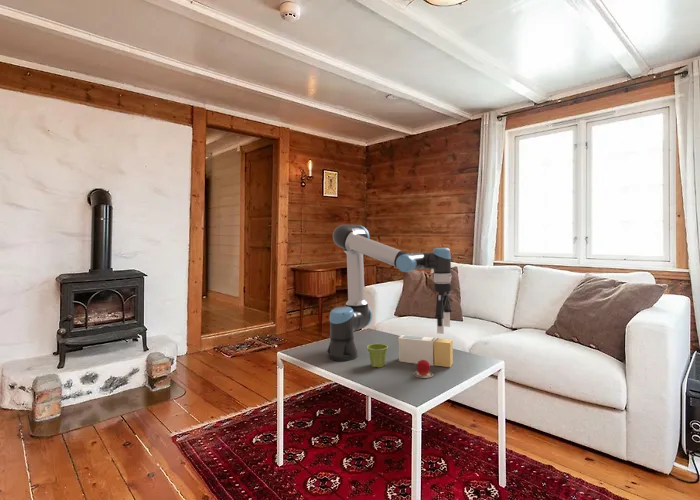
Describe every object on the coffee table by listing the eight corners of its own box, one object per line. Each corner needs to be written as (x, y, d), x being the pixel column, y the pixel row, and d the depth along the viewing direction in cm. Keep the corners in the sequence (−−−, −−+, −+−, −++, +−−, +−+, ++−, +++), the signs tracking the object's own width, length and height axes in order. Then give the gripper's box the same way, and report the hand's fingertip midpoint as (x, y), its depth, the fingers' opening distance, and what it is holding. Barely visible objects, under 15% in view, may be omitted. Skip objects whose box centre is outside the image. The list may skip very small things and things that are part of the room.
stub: (434, 365, 167) (434, 341, 167) (437, 361, 173) (437, 337, 172) (450, 367, 164) (449, 342, 164) (452, 363, 170) (452, 339, 169)
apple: (421, 380, 151) (420, 364, 151) (410, 373, 159) (409, 358, 159) (437, 376, 155) (437, 361, 154) (425, 370, 162) (425, 355, 162)
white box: (398, 361, 175) (398, 337, 174) (402, 357, 180) (402, 334, 180) (433, 365, 168) (432, 341, 167) (436, 361, 173) (435, 337, 173)
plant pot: (374, 370, 163) (373, 350, 163) (363, 364, 172) (363, 345, 171) (392, 366, 168) (391, 347, 167) (380, 360, 176) (380, 342, 176)
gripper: (445, 286, 154) (446, 337, 155) (456, 279, 177) (457, 324, 177) (427, 285, 158) (428, 335, 158) (440, 279, 180) (441, 323, 181)
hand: (443, 329), depth 168 cm, fingers open, 13 cm apart
